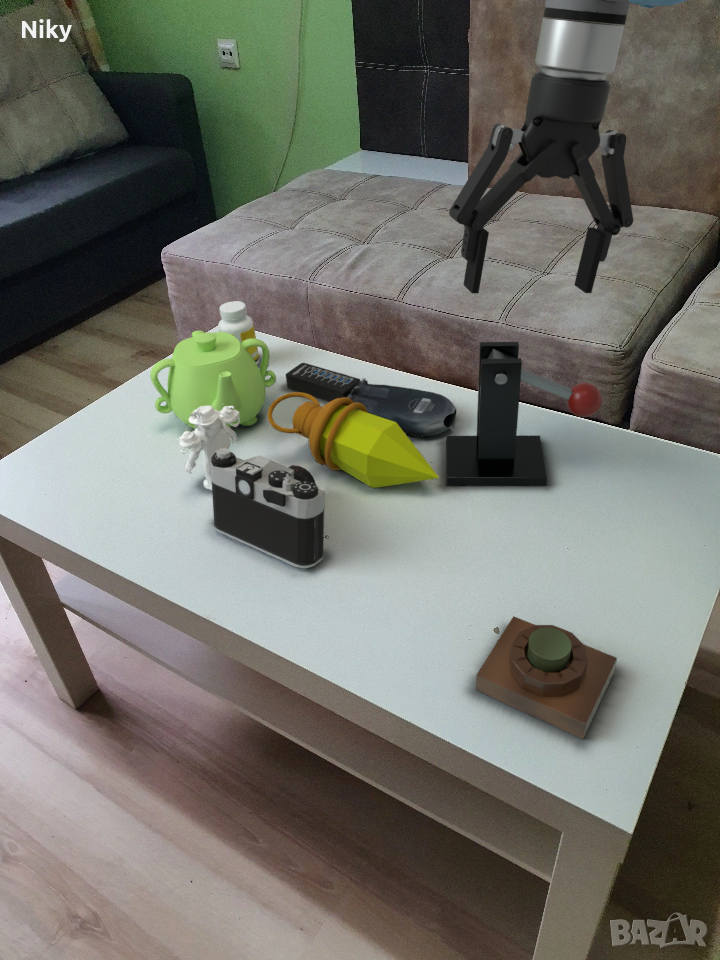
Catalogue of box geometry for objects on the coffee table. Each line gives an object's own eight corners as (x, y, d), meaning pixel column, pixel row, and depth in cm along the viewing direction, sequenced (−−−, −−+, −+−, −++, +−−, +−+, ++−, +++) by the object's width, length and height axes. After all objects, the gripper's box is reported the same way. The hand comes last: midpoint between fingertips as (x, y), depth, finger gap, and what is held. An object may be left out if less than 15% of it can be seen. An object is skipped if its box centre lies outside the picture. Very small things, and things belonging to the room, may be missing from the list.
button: (575, 650, 67) (577, 637, 66) (560, 679, 64) (562, 665, 63) (537, 634, 68) (538, 621, 67) (520, 662, 66) (522, 649, 65)
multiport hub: (345, 406, 108) (344, 392, 107) (286, 387, 113) (284, 374, 112) (362, 392, 111) (361, 378, 109) (304, 374, 116) (302, 361, 115)
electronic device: (341, 437, 104) (444, 443, 98) (335, 400, 102) (440, 403, 96) (368, 410, 112) (465, 414, 105) (363, 375, 109) (462, 377, 103)
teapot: (300, 404, 109) (289, 324, 102) (242, 456, 100) (226, 373, 92) (211, 382, 116) (196, 306, 108) (150, 429, 106) (128, 349, 99)
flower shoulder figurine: (204, 504, 92) (184, 422, 85) (183, 493, 94) (161, 412, 87) (255, 467, 98) (240, 387, 90) (234, 458, 100) (218, 378, 92)
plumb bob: (458, 474, 95) (297, 404, 104) (459, 426, 87) (287, 356, 97) (421, 527, 90) (258, 449, 100) (419, 481, 83) (243, 402, 93)
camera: (358, 533, 88) (361, 456, 83) (301, 576, 80) (301, 494, 75) (262, 494, 95) (260, 421, 90) (201, 530, 87) (195, 453, 82)
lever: (587, 409, 91) (605, 383, 89) (592, 428, 88) (611, 401, 86) (479, 367, 89) (495, 339, 87) (481, 384, 86) (497, 355, 84)
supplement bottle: (259, 353, 123) (250, 297, 117) (260, 369, 118) (250, 311, 112) (226, 357, 122) (215, 301, 116) (225, 373, 118) (214, 316, 112)
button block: (613, 673, 69) (620, 644, 66) (582, 739, 64) (588, 711, 61) (511, 631, 74) (514, 602, 71) (475, 690, 68) (476, 661, 66)
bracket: (539, 443, 98) (550, 332, 88) (546, 486, 91) (559, 371, 81) (446, 443, 99) (446, 334, 90) (446, 485, 92) (447, 372, 83)
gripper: (663, 78, 78) (610, 278, 90) (437, 61, 72) (411, 277, 84) (707, 87, 72) (644, 300, 84) (464, 69, 66) (432, 301, 78)
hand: (527, 289), depth 84 cm, fingers open, 13 cm apart
